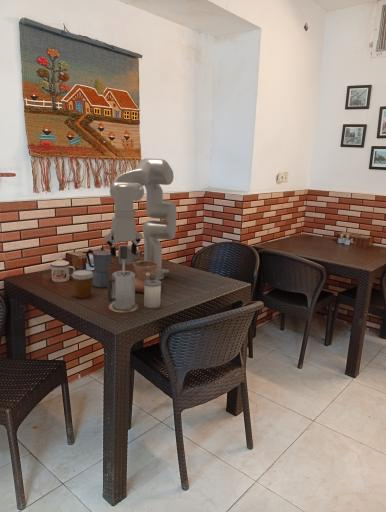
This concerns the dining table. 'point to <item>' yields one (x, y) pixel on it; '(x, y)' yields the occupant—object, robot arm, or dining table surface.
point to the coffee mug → (128, 256)
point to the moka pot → (100, 266)
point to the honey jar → (82, 282)
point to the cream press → (152, 292)
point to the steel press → (122, 290)
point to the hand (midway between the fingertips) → (123, 254)
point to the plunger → (123, 256)
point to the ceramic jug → (143, 273)
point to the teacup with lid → (60, 270)
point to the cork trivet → (123, 311)
